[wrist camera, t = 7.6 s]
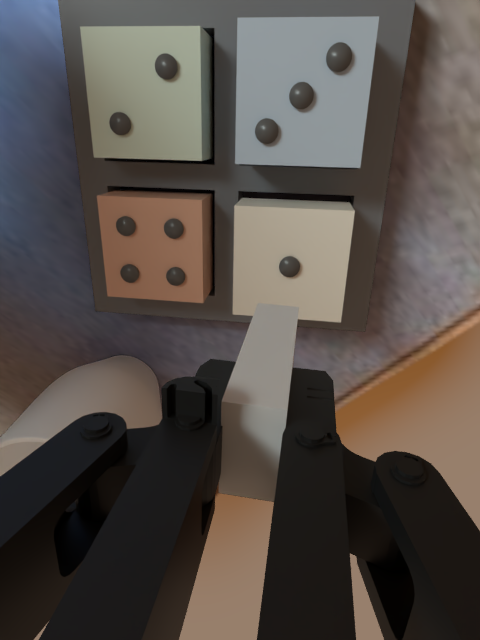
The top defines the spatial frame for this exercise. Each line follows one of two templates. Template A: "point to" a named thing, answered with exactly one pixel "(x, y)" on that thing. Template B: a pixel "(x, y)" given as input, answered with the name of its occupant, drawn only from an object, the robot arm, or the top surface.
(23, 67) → the top surface
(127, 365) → the mug
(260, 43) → the tile
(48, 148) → the top surface
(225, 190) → the keypad board
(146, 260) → the tile
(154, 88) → the tile
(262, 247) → the tile
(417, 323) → the top surface
